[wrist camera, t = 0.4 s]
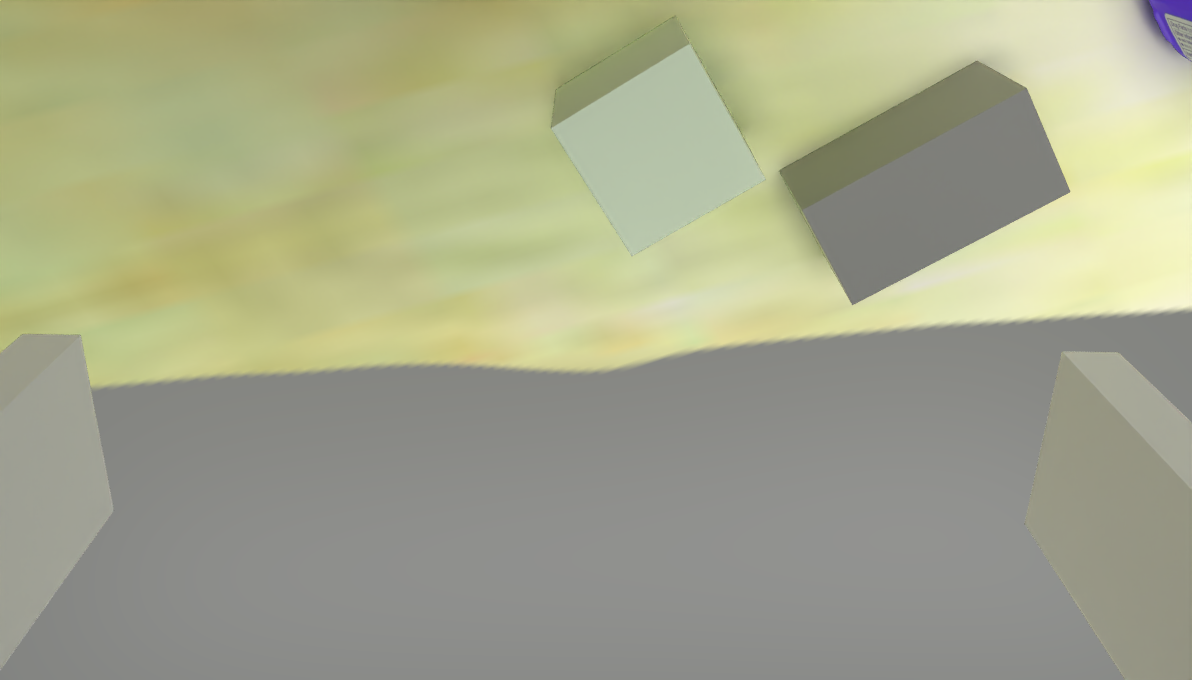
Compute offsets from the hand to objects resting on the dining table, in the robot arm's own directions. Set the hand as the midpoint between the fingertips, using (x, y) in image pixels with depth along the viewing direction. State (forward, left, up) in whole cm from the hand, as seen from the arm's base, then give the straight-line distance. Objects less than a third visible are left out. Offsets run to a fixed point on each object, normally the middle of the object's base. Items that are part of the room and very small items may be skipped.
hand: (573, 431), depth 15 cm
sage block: (+3, +1, -27) cm, 27 cm away
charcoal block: (+9, +8, -27) cm, 30 cm away
